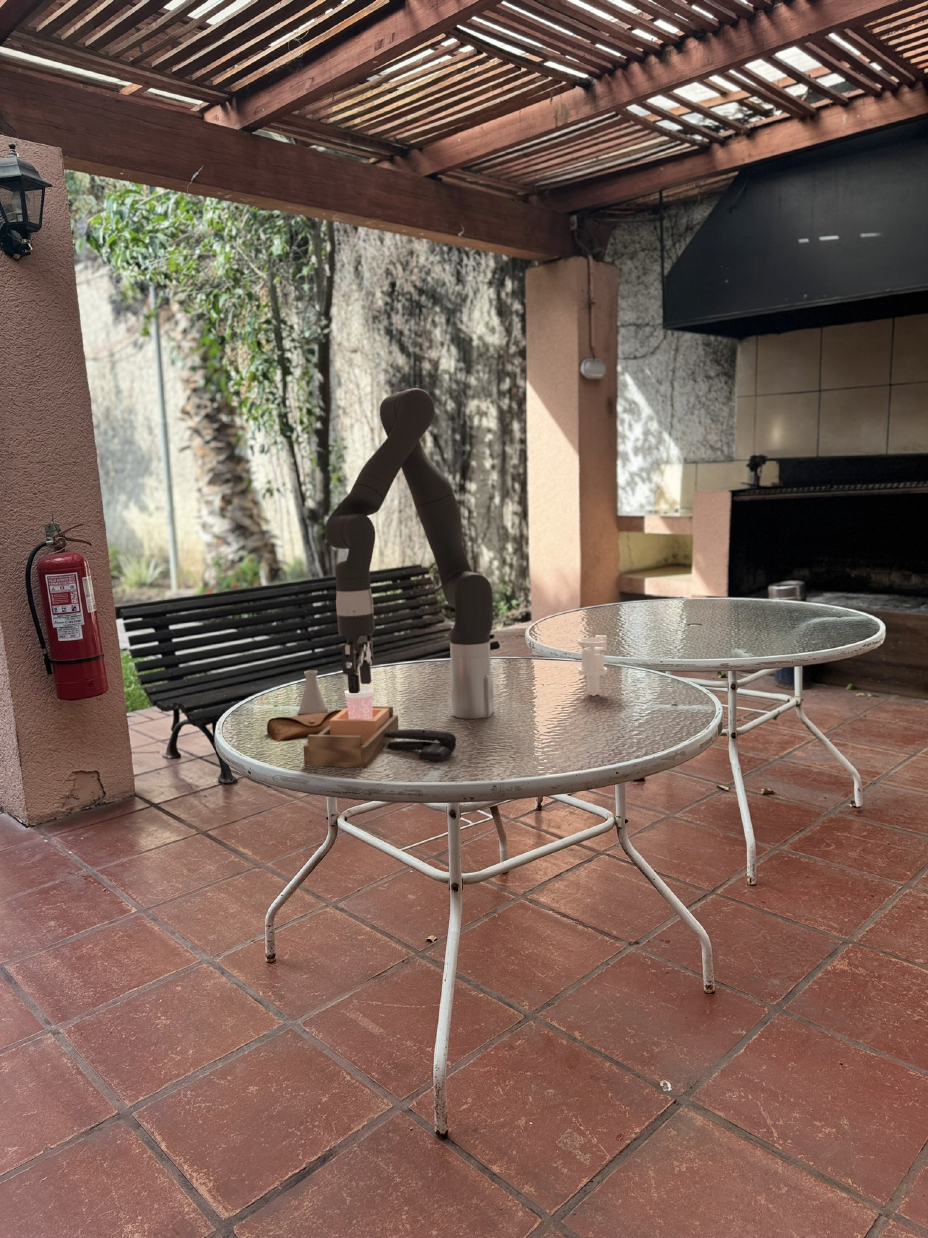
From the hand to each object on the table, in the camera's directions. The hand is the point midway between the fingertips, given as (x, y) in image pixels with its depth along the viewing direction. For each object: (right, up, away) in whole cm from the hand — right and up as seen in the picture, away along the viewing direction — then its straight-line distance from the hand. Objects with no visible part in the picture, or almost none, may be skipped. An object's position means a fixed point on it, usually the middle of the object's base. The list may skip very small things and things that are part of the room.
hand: (360, 688), depth 186 cm
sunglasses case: (-12, -11, +11) cm, 20 cm away
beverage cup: (0, -10, +2) cm, 10 cm away
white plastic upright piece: (+54, -5, +37) cm, 66 cm away
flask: (-15, -8, +29) cm, 33 cm away
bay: (-1, -12, -3) cm, 13 cm away
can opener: (+13, -13, -7) cm, 20 cm away
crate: (0, -10, +2) cm, 10 cm away
